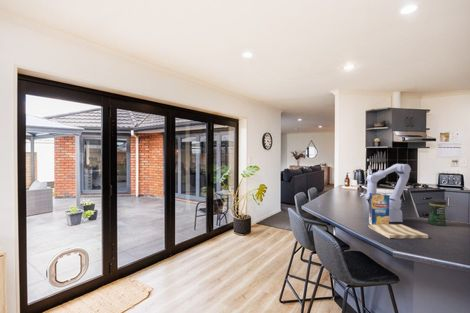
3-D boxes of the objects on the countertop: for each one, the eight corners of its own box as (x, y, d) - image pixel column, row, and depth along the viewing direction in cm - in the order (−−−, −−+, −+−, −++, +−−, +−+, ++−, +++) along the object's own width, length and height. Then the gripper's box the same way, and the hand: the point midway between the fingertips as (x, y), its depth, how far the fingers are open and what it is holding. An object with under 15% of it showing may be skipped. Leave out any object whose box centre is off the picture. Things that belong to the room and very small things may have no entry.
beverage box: (389, 226, 168) (389, 195, 167) (371, 225, 170) (372, 194, 170) (385, 223, 174) (386, 193, 174) (368, 222, 177) (369, 192, 177)
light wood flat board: (402, 227, 166) (402, 224, 166) (428, 238, 145) (428, 235, 145) (368, 227, 165) (368, 224, 165) (389, 238, 144) (389, 235, 144)
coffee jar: (432, 225, 171) (433, 199, 171) (426, 222, 179) (426, 197, 179) (448, 226, 169) (448, 200, 169) (440, 223, 177) (441, 198, 177)
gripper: (361, 189, 188) (361, 206, 188) (372, 192, 173) (372, 210, 174) (370, 189, 188) (369, 206, 188) (382, 192, 174) (382, 210, 174)
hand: (371, 208), depth 181 cm, fingers closed
